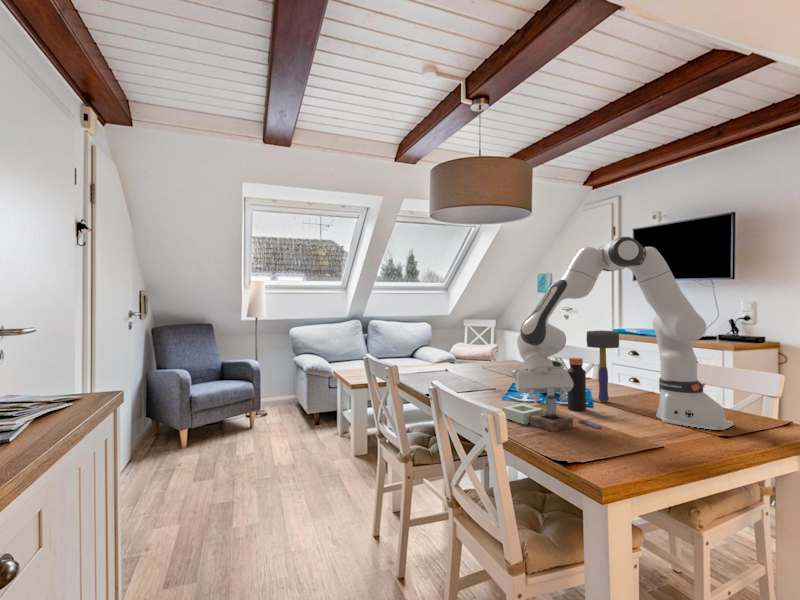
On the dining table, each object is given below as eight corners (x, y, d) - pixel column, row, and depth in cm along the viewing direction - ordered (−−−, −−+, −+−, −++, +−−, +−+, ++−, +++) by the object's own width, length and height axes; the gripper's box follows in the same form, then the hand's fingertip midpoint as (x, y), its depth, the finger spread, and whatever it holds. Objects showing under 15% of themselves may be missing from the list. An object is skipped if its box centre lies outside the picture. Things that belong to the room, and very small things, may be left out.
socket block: (573, 426, 146) (572, 418, 146) (553, 432, 141) (553, 422, 141) (549, 420, 155) (549, 411, 155) (529, 424, 150) (529, 416, 150)
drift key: (601, 429, 144) (601, 425, 144) (596, 430, 144) (596, 426, 144) (582, 423, 152) (582, 419, 152) (578, 424, 151) (577, 420, 151)
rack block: (543, 420, 155) (543, 409, 155) (523, 424, 149) (523, 413, 149) (522, 414, 163) (521, 403, 163) (503, 418, 158) (502, 407, 158)
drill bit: (558, 426, 147) (558, 388, 147) (552, 427, 146) (551, 389, 145) (550, 423, 150) (549, 386, 150) (543, 425, 148) (543, 388, 148)
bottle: (582, 406, 172) (582, 357, 172) (588, 411, 165) (587, 359, 165) (565, 406, 173) (564, 357, 173) (570, 411, 166) (569, 359, 166)
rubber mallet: (587, 402, 179) (586, 330, 179) (587, 398, 186) (586, 329, 186) (620, 405, 174) (619, 331, 174) (619, 400, 181) (618, 329, 181)
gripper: (513, 364, 154) (524, 398, 144) (567, 362, 156) (581, 395, 147) (508, 374, 159) (519, 407, 149) (561, 372, 161) (575, 405, 151)
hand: (550, 401), depth 148 cm, fingers open, 8 cm apart
